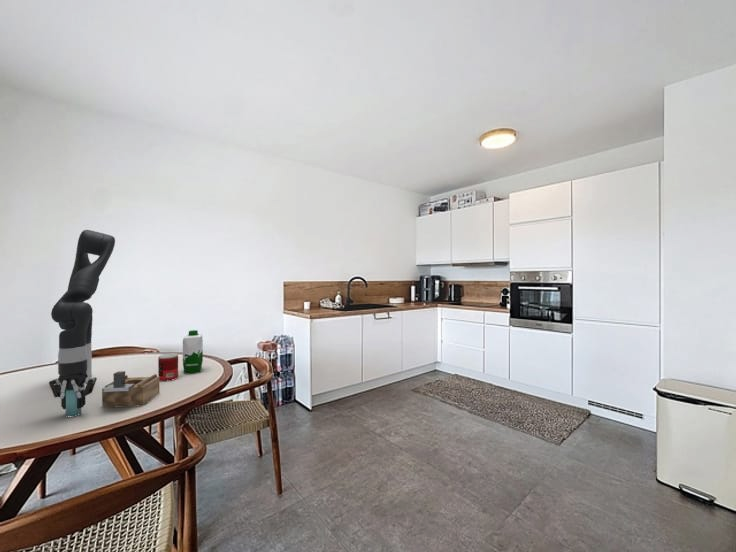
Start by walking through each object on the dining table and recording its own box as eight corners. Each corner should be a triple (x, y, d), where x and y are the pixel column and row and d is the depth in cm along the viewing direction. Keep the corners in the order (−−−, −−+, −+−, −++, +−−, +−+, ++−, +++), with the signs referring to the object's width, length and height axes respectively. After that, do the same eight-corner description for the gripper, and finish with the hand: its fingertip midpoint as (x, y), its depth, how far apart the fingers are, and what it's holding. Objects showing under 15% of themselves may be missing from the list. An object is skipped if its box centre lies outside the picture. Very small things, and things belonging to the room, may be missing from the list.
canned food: (181, 376, 154) (181, 353, 154) (170, 381, 146) (169, 357, 146) (167, 375, 155) (166, 352, 155) (154, 381, 147) (154, 357, 147)
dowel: (62, 417, 110) (62, 391, 110) (71, 412, 114) (71, 387, 114) (75, 416, 111) (75, 390, 111) (84, 411, 115) (83, 386, 115)
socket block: (102, 407, 119) (102, 386, 118) (122, 395, 130) (122, 375, 130) (143, 405, 120) (143, 384, 120) (159, 393, 132) (159, 374, 132)
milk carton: (203, 367, 167) (203, 329, 167) (202, 372, 159) (201, 332, 159) (184, 369, 164) (183, 330, 163) (181, 375, 155) (181, 334, 155)
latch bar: (103, 391, 115) (103, 374, 115) (111, 387, 119) (111, 371, 119) (128, 390, 116) (128, 373, 116) (134, 386, 120) (134, 370, 120)
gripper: (102, 355, 117) (103, 402, 117) (59, 357, 115) (59, 404, 115) (87, 361, 110) (88, 411, 110) (40, 363, 108) (41, 413, 108)
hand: (73, 407), depth 113 cm, fingers closed on dowel, 4 cm apart
